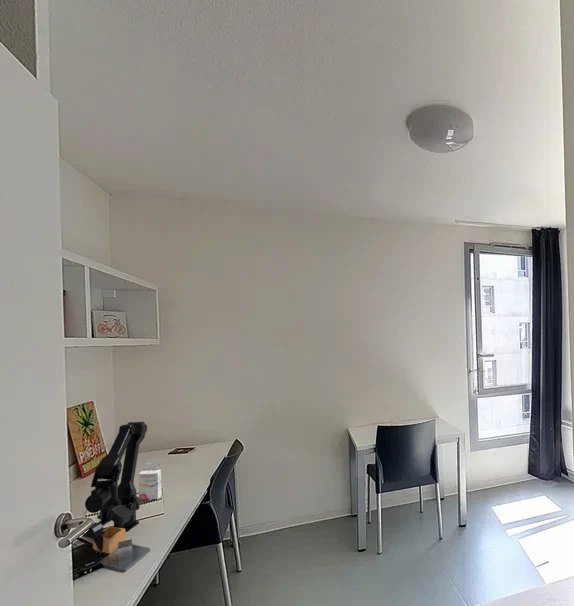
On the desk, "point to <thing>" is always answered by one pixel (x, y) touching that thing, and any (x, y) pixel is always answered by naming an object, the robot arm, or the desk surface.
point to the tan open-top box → (111, 539)
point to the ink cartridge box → (150, 482)
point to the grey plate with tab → (125, 556)
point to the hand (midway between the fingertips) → (109, 544)
